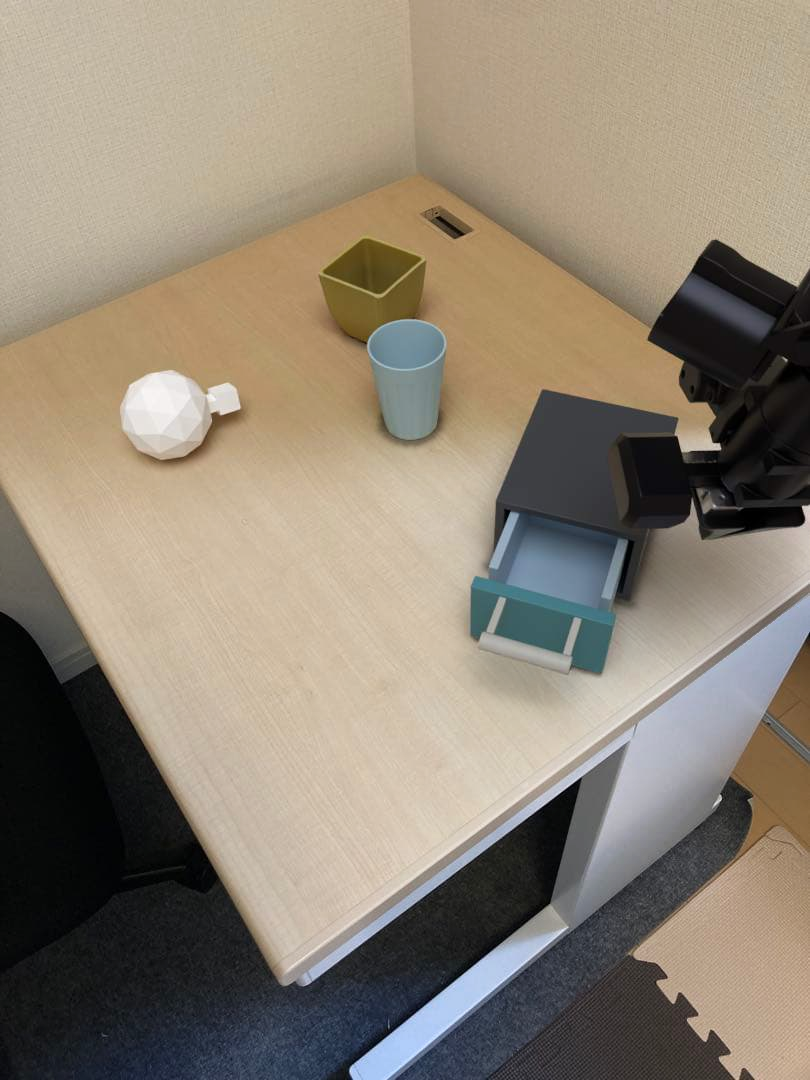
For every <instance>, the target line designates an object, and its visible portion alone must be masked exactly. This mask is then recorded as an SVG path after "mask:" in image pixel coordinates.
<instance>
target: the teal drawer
mask: <svg viewBox="0 0 810 1080" xmlns="http://www.w3.org/2000/svg"><path fill="white" fill-rule="evenodd" d="M630 541H631V540H628V539H624V538H620V537H616V536H612V535H608V534H604V533H600V532H596V531H592V530H588V529H584V528H580V527H576V526H572V525H568V524H564V523H560V522H556V521H552V520H548V519H544V518H540V517H536V516H532V515H528V514H524V513H520V512H516V511H512V510H511V512H510V514H509V517H508V519H507V522H506V524H505V527H504V529H503V532H502V534H501V537H500V539H499V542H498V544H497V547H496V549H495V552H494V551H493V554H492V557H491V559H490V562H489V565H488V573H487V574H488V575H487V576H488V577H487V578H485V577H481V576H477V575H475V576H474V577H473V579H472V583H471V585H470V609H469V611H470V615H469V616H470V617H469V619H470V620H469V623H470V624H469V625H470V627H469V636H470V637H473V638H476V639H478V643H477V649H478V650H480V651H484V652H487V653H491V654H494V655H497V656H501V657H503V658H507V659H511V660H515V661H517V662H521V663H525V664H528V665H531V666H535V667H538V668H541V669H545V670H548V671H551V672H555V673H559V674H562V675H566V676H568V675H569V674H570V671H571V668H572V666H573V667H576V668H580V669H584V670H587V671H591V672H593V673H598V674H601V675H602V674H603V672H604V668H605V665H606V662H607V661H606V660H607V657H608V652H609V649H610V644H611V640H612V635H613V631H614V626H615V623H616V618H617V613H614V612H612V609H613V605H614V601H615V599H616V598H615V595H616V591H617V588H618V584H619V581H620V578H621V574H622V571H623V567H624V564H625V560H626V557H627V553H628V550H629V546H630Z"/></svg>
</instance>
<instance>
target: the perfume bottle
mask: <svg viewBox="0 0 810 1080" xmlns="http://www.w3.org/2000/svg"><path fill="white" fill-rule="evenodd" d="M237 389H238V388H237V387H235V386H234V385H232V384H231V383H229V382H224V383H221V384H217V385H215V386H212V387H208V388H207V392H208V393H207V394H205V393H204V391H203V390H202V389H201V387H200V386H199V385H198V383H197V382H196V381H195V380H194V379H193V378H189V377H188V376H187V375H183V374H181V373H179V372H177V371H176V370H173V369H169V370H161V371H157V372H150V373H147V374H146V375H143V376H142V377H140V378H139V379H136V381H134V382H132V383H130V384H129V386H128V387H127V391H126V393H125V396H124V397H123V400H122V402H121V404H120V406H119V413H120V419H121V427H122V430H123V432H124V433H125V435H126V436H127V437H128V439H129V440H130V442H131V443H132V444H133V446H134V447H135V448H136V450H137V451H139V452H141V453H144V454H145V455H148V456H150V457H153V458H155V459H157V460H159V461H163V460H170V459H177V458H182V457H183V458H184V457H187V455H189V454H190V453H191V452H193V451H194V450H196V449H197V448H198V447H199V446H201V445H202V443H203V441H204V440H205V437H206V435H207V433H208V431H209V430H210V428H211V425H212V423H213V419H212V418H213V417H212V414H213V413H217V414H218V416H223V415H226V414H230V413H233V412H235V411H239V410H240V409H242V407H241V403H240V398H239V394H238V390H237Z"/></svg>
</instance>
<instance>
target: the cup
mask: <svg viewBox="0 0 810 1080" xmlns="http://www.w3.org/2000/svg"><path fill="white" fill-rule="evenodd" d="M447 345H448V343H447V338H446V336H445V333H444V332H443V330H441V329H440V328H439V327H438V326H436V325H435V324H433V323H431V322H428V321H425V320H422V319H416V318H415V319H414V318H413V319H404V320H397V321H393V322H390V323H387V324H385V325H383V326H381V327H379V328H378V329H377V330H375V331H374V332H373V333H372V335H371V336H370V338H369V340H368V343H367V342H366V350H367V355H368V359H369V362H370V363H369V364H370V368H371V371H372V375H373V379H374V383H375V388H376V392H377V396H378V400H379V405H380V408H381V413H382V416H383V421H384V425H385V427H386V429H387V431H388V432H389V433H390V434H391V435H392V436H393V437H396V438H397V439H400V440H404V441H415V440H421V439H423V438H425V437H428V436H429V435H430V434H431V435H432V433H433V432H434V430H435V429H436V428H437V425H438V420H439V419H438V418H439V413H440V412H439V411H440V405H441V404H440V403H441V394H442V385H443V377H444V369H445V368H444V367H445V362H446V355H447Z"/></svg>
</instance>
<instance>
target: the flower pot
mask: <svg viewBox="0 0 810 1080" xmlns="http://www.w3.org/2000/svg"><path fill="white" fill-rule="evenodd" d="M426 267H427V257H426V255H423V254H421V253H418V252H414V251H412V250H409V249H406V248H403V247H400V246H398V245H395V244H392V243H389V242H388V241H384V240H381V239H379V238H376V237H373V236H370V235H366V234H364V235H362V236H361V237H359V238H358V239H356V240H355V241H353V242H352V243H351V244H349V246H347V247H346V248H345V249H343V250H342V251H341V252H340V253H338V255H337V256H335V257H333V258H332V260H330V261H329V262H327V263H326V264H325V265H324V266H322V268H321V269H320V270H319V271H318V272H317V276H318V279H319V282H320V286H321V289H322V292H323V296H324V299H325V303H326V305H327V308H328V311H329V313H330V315H331V316H332V318H333V320H334V321H335V322H336V323H337V325H338V326H339V328H341V329H342V330H343V331H344V332H345V333H346V334H347V335H348V336H350V337H352V338H355V339H357V340H359V341H362V342H364V343H366V344H367V343H368V340H369V338H370V336H371V335H372V333H373V332H374V331H375V330H377V329H378V328H379V327H381V326H383V325H385V324H387V323H390V322H393V321H397V320H404V319H414V317H415V315H416V313H417V312H418V310H419V307H420V304H421V301H422V297H423V293H424V284H425V276H426Z"/></svg>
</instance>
